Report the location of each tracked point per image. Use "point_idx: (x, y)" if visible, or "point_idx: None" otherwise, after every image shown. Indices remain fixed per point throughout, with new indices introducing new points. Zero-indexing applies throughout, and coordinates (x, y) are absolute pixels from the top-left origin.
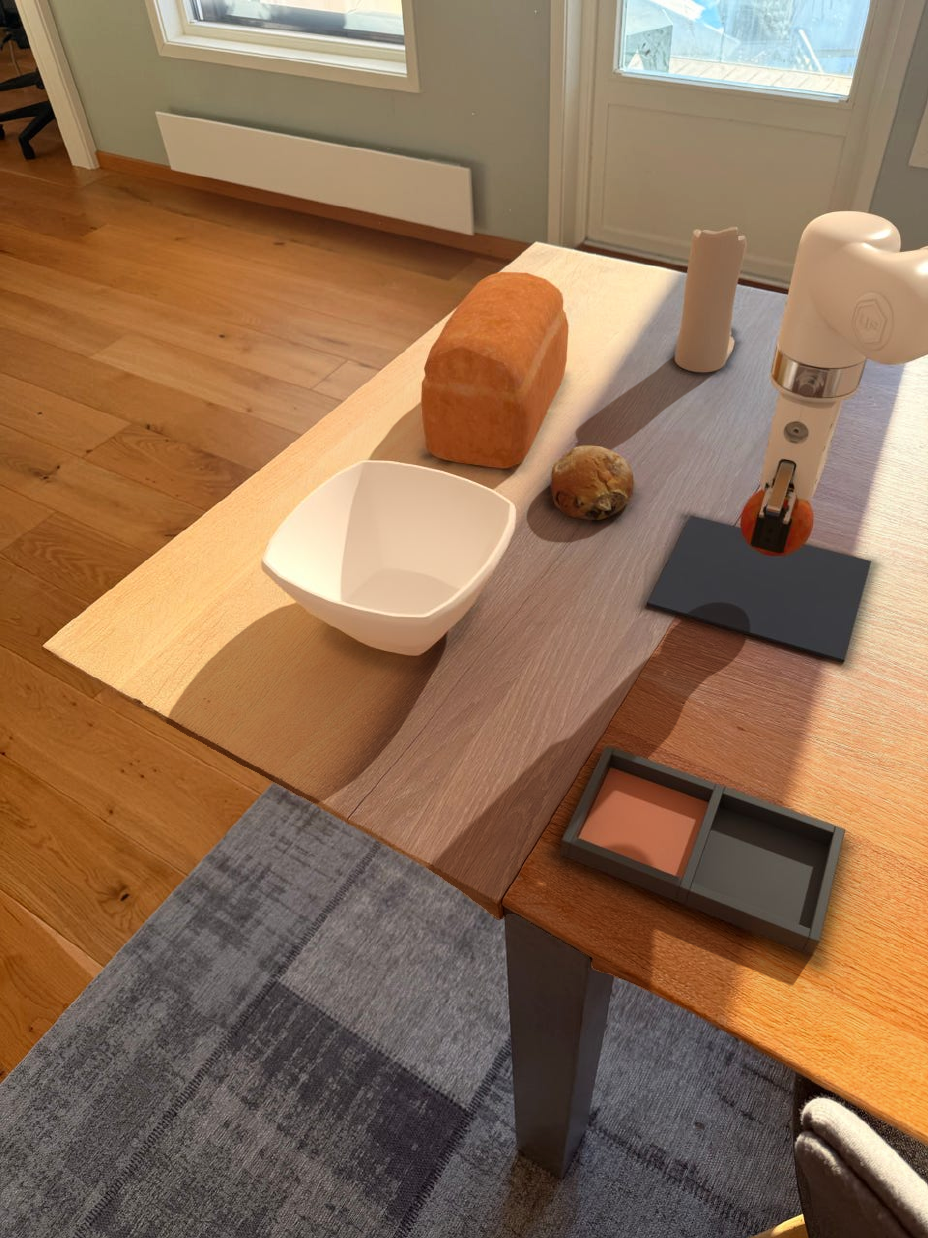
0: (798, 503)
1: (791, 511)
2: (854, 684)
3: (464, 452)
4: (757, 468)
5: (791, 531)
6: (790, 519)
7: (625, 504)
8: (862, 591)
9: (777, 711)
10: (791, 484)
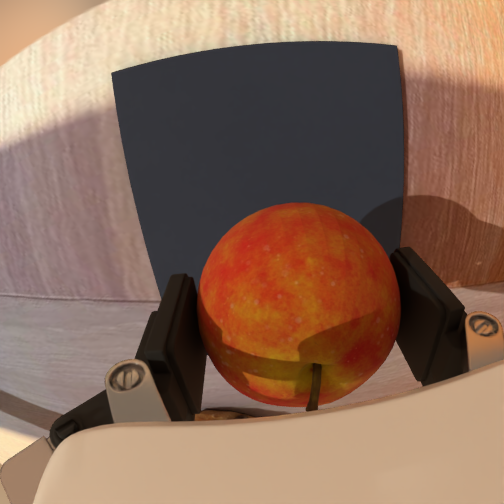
0: (335, 324)
1: (502, 346)
2: (424, 30)
3: None
4: (31, 311)
5: (392, 270)
6: (451, 315)
7: (221, 415)
8: (205, 51)
9: (498, 125)
10: (190, 356)
